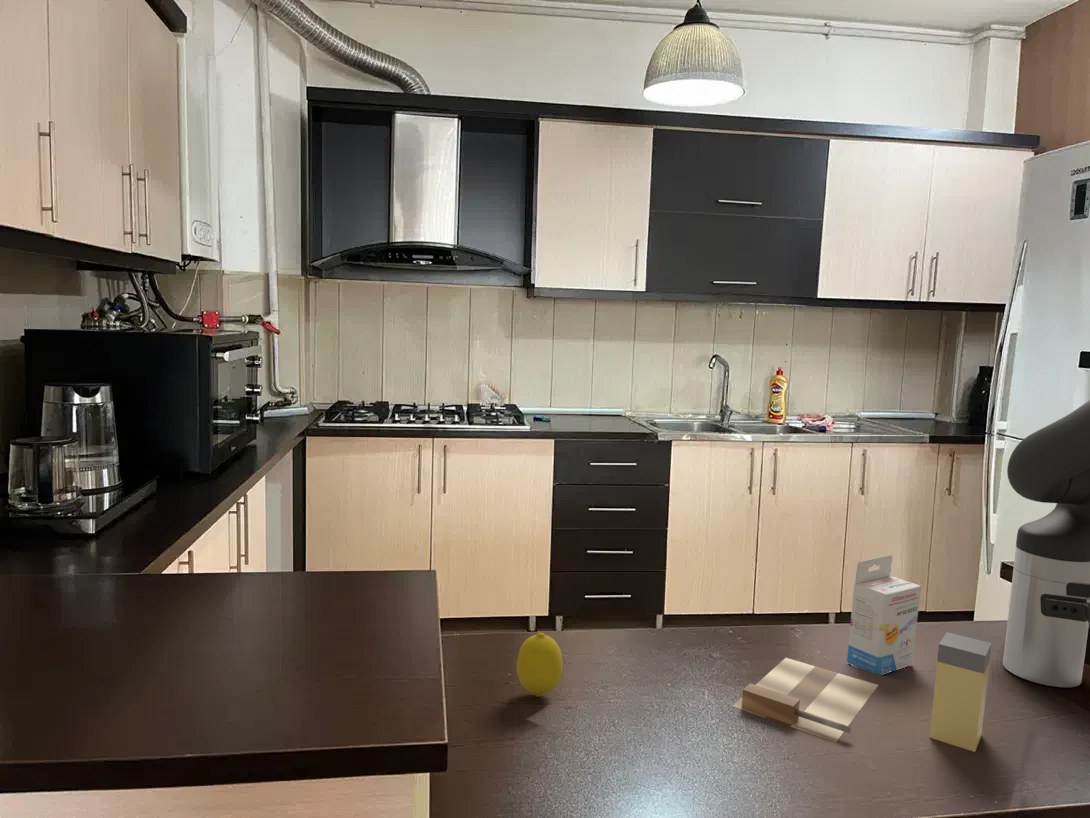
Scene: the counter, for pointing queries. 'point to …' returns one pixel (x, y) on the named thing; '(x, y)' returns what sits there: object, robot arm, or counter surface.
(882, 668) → the ink box
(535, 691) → the lemon
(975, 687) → the yellow block grey top
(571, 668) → the counter surface
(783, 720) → the awl
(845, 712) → the plywood panel
